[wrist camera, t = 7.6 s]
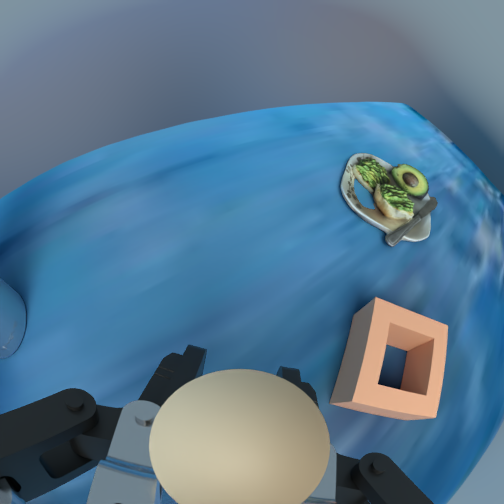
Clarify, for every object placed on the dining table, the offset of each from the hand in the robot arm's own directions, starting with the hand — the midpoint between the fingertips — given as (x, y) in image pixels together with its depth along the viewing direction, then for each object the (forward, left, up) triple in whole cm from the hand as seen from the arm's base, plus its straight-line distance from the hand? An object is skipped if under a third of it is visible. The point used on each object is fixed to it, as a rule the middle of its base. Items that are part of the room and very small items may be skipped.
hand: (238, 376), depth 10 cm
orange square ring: (+14, +7, -15) cm, 22 cm away
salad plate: (+13, +34, -15) cm, 40 cm away
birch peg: (0, -2, -6) cm, 6 cm away
